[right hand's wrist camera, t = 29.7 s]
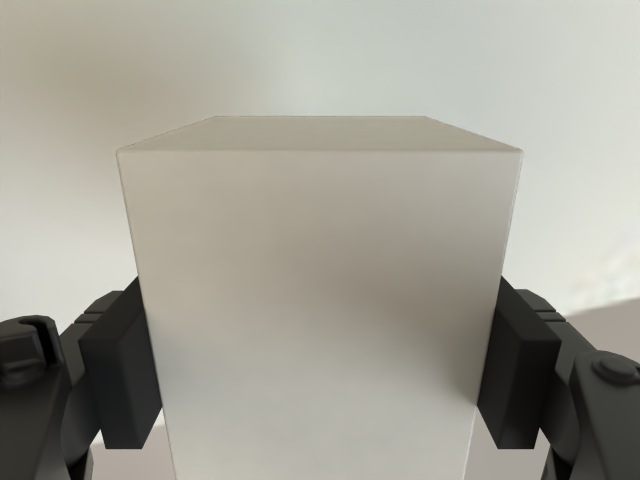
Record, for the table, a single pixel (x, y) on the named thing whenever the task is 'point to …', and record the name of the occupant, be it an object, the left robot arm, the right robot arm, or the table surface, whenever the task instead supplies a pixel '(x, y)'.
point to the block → (319, 291)
